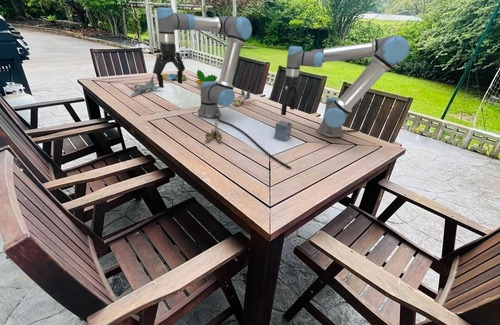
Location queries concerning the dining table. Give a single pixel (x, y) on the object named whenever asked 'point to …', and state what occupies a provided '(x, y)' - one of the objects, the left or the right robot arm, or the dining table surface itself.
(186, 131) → the dining table surface
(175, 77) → the sign
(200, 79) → the ornament
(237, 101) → the toy
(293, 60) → the right robot arm
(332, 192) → the dining table surface
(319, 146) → the dining table surface
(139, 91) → the airplane
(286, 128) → the block
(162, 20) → the left robot arm
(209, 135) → the jawbone
